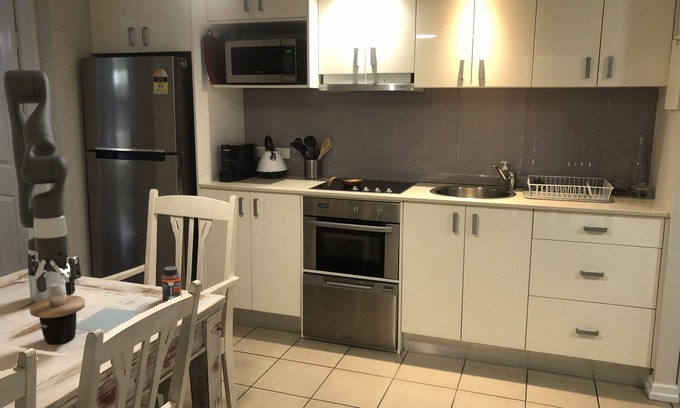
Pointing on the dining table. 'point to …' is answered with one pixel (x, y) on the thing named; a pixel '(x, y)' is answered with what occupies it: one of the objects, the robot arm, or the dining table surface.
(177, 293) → the supplement bottle
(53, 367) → the dining table surface
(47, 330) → the mug
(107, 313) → the mat
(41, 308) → the lid
